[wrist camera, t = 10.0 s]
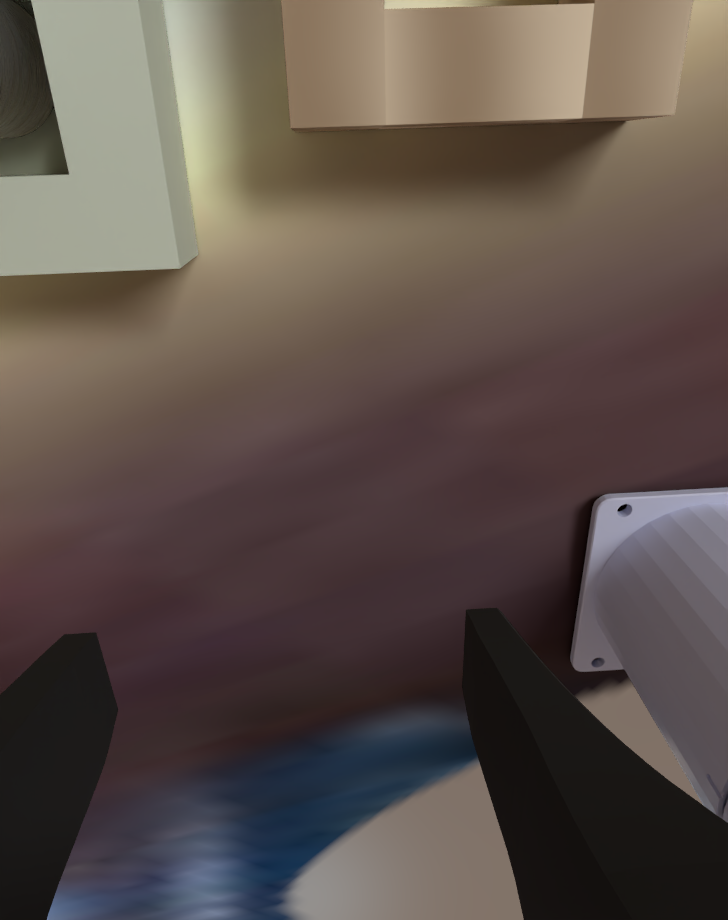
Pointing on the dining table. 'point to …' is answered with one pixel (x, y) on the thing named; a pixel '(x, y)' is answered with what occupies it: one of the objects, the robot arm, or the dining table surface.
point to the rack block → (104, 149)
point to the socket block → (481, 63)
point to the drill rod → (21, 73)
